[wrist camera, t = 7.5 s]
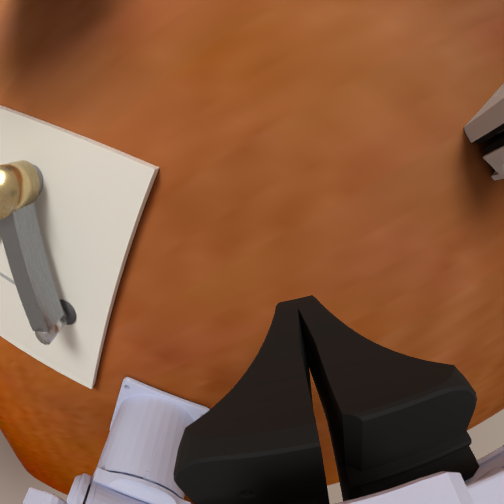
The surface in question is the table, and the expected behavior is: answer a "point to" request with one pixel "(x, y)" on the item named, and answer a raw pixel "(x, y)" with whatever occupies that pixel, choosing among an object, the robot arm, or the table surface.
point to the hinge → (490, 131)
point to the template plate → (73, 236)
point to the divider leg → (28, 250)
